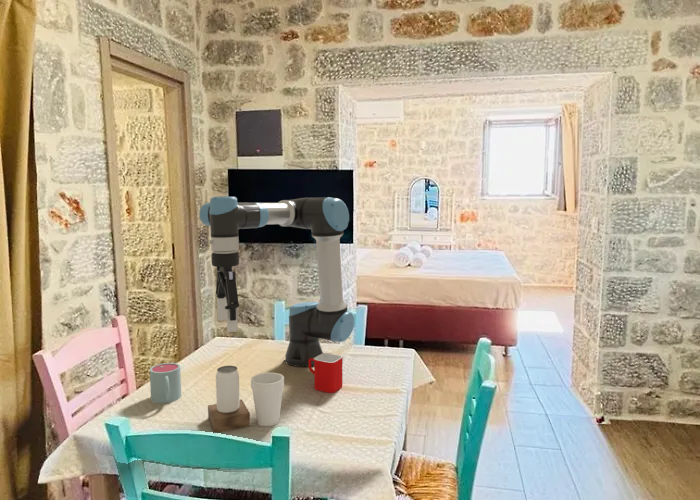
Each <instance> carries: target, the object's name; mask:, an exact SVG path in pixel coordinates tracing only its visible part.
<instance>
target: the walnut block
mask: <svg viewBox="0 0 700 500" xmlns="http://www.w3.org/2000/svg"><path fill="white" fill-rule="evenodd" d="M250 414H251V413H250V410H249V409H248V407H247V406H246V404H245V402H244V400H243V399H240V407H239V409H238V410H237V411H235V412H232V413H221V412H219V411H218V410H217V403H214V404H207V415H208V416H207V417H208V418H207V419H208V420H209V423H210V426H211V429H212V432H213V433H214V432H218V433H222V432H228V431H233V430H238V429H241V428H242V429H243V428H248V427H251V420H250V419H251V418H250V417H251V415H250Z"/></svg>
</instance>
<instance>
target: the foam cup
mask: <svg viewBox="0 0 700 500" xmlns="http://www.w3.org/2000/svg"><path fill="white" fill-rule="evenodd" d="M284 387H285V376H284V375H283V374H282V373H278V372H272V371H271V372H270V371H269V372H262V373H257V374H255V375H254V376H252V377H251V379H250V389H251V390H252V396H253V397H252V398H253V403H254V409H255V416H256V421H257V424H258V425H259V426H262V427H271V426H275V425H277V424H279V422H280V417H281V407H282V399H283V390H284Z"/></svg>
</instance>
